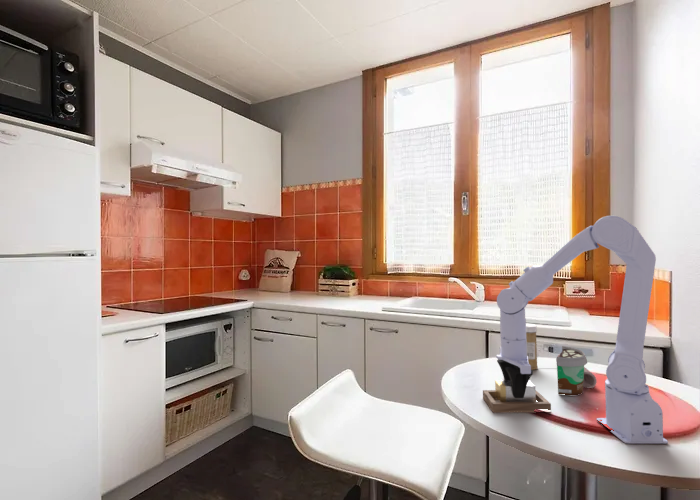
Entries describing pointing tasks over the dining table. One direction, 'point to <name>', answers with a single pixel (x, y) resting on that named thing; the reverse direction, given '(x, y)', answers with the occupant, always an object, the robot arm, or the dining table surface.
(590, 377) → the coil
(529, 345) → the sprinkles bottle
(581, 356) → the food container
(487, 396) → the wooden tray
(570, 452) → the dining table surface
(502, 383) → the white yellow block
